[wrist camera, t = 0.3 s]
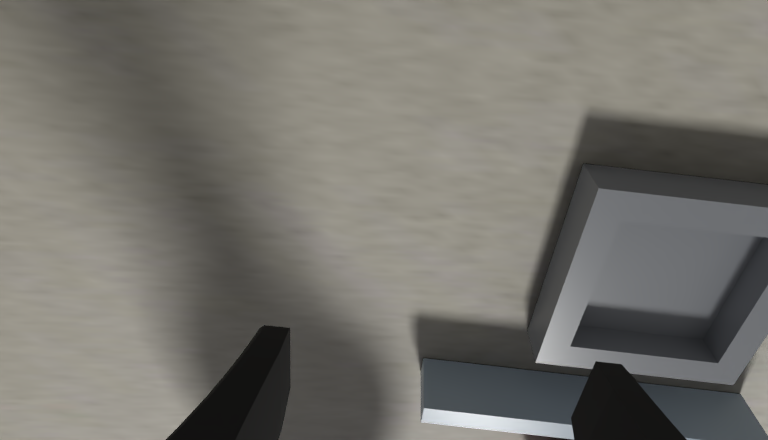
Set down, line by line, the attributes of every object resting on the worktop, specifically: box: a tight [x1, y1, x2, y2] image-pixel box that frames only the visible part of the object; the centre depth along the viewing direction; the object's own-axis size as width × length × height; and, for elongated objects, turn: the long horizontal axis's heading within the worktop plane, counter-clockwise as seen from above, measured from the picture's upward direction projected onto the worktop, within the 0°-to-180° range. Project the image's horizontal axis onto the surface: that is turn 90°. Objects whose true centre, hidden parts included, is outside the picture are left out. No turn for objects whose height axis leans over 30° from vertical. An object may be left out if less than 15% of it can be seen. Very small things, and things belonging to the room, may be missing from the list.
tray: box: [527, 164, 768, 385], centre depth 21 cm, size 9×9×2 cm
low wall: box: [421, 358, 768, 440], centre depth 25 cm, size 1×16×3 cm, turn 85°
